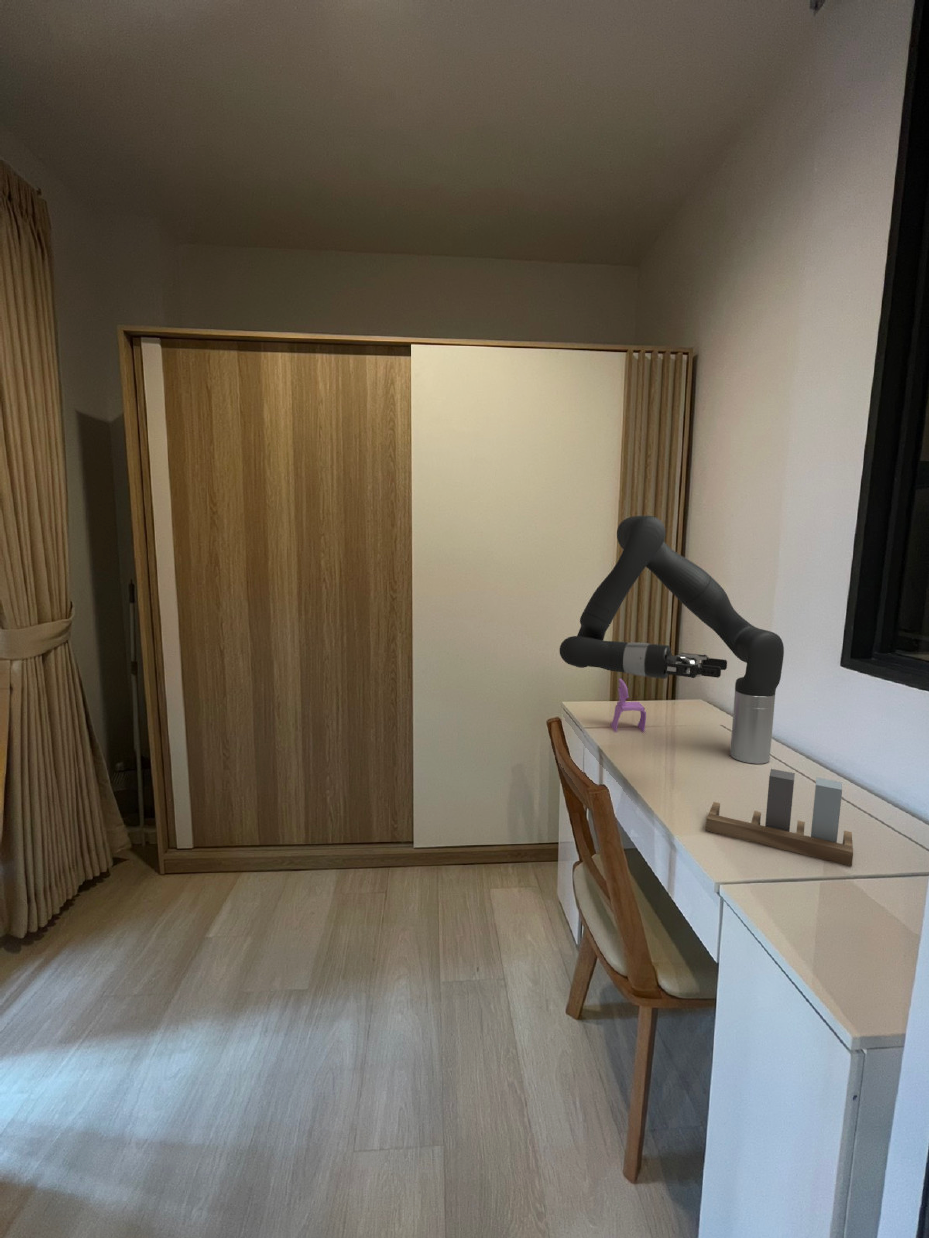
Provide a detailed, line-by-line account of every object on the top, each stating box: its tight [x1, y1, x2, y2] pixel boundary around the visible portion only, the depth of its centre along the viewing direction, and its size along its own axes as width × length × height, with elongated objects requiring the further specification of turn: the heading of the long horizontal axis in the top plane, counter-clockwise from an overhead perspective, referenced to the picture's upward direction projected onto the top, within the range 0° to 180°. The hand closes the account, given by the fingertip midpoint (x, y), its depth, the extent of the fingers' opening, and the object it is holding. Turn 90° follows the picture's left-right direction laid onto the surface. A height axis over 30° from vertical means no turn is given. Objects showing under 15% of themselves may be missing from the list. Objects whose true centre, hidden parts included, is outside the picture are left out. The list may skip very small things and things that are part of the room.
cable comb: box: [705, 801, 854, 867], centre depth 113 cm, size 8×24×2 cm, turn 59°
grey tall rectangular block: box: [764, 768, 796, 832], centre depth 114 cm, size 4×4×12 cm
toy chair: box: [610, 678, 647, 733], centre depth 175 cm, size 8×9×15 cm
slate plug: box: [810, 777, 843, 843], centre depth 110 cm, size 4×4×12 cm
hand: (723, 668), depth 129 cm, fingers open, 8 cm apart
